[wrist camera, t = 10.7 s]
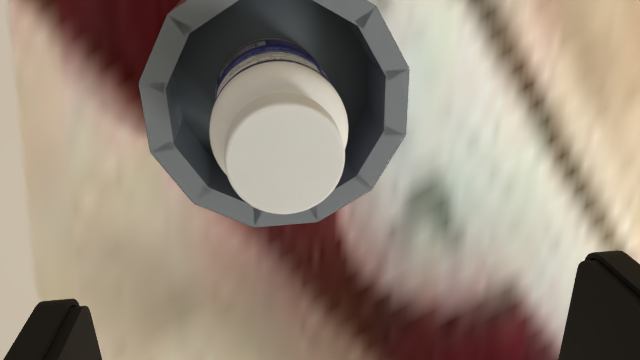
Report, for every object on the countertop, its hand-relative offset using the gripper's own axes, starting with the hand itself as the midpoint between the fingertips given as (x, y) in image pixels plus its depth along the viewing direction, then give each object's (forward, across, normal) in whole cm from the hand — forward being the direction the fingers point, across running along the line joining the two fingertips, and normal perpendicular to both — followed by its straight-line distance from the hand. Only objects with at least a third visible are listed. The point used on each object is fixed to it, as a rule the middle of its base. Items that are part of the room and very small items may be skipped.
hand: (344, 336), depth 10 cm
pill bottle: (+17, +1, -1) cm, 17 cm away
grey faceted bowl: (+18, +1, -1) cm, 18 cm away
